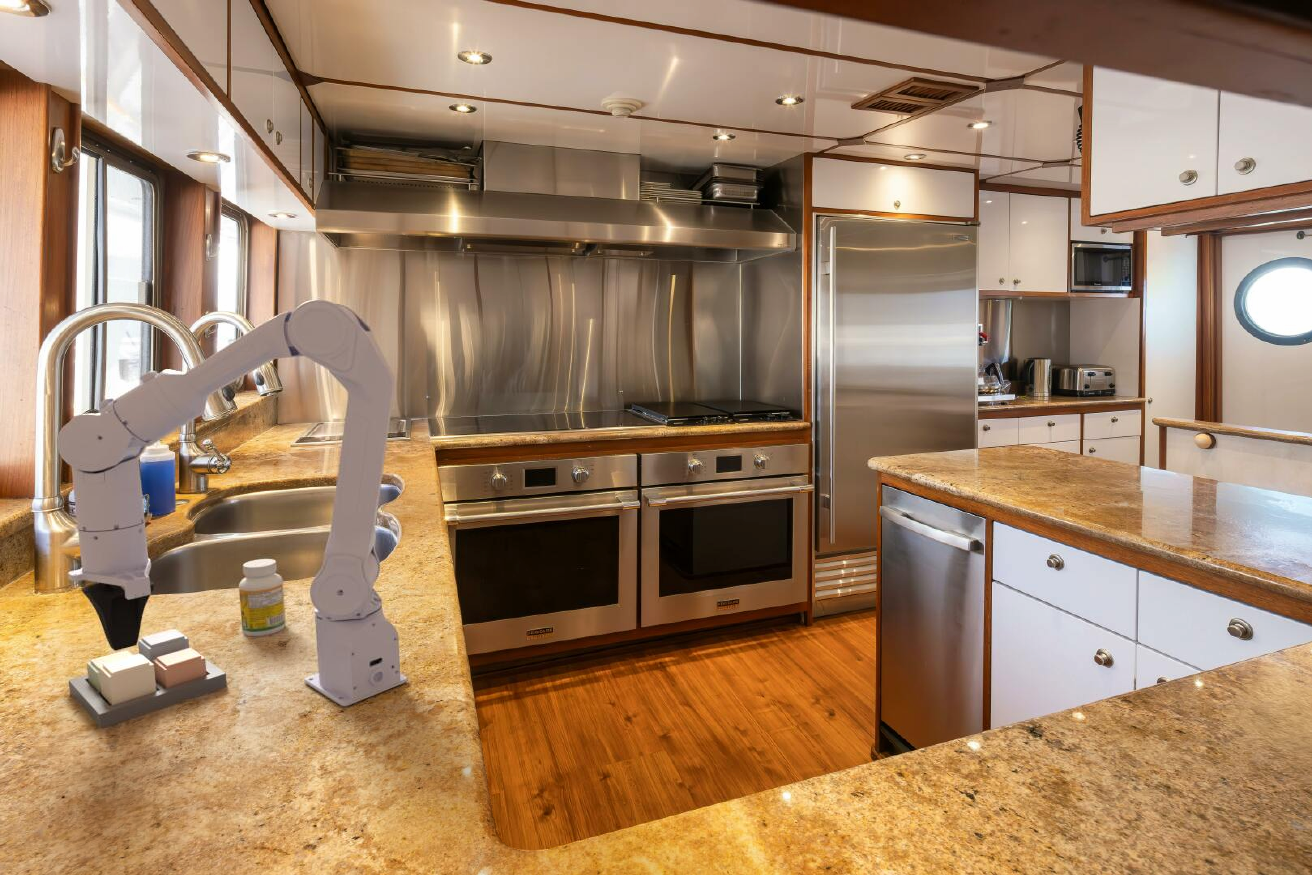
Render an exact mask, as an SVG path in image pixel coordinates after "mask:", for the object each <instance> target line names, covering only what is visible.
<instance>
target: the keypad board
mask: <svg viewBox="0 0 1312 875" xmlns="http://www.w3.org/2000/svg"><path fill="white" fill-rule="evenodd" d="M189 648H191V649H193V648H192V647H190V646H189ZM205 662H206V674H207V675H206V676H203V677H200V678H196V679H193V680H190V681H187V682H184V683H181V684H178V685H175V686H172V687H168V688H165V689H164V688H163V687H162V686H161V685H160V684H159V683H157V682H156V681H155V682H156V692H153V693H150V694H147V695H143V696H140V697H137V698H134V699H131V700H128V701H125V702H122V703H119V704H115V705H110V703H109V702H108V701H107V700H106V698H105V697H104V696H103V695H102V694H101V690H100V691H97V692H96V691H95V690H94V689H93V688H92V687H91V686H90V685H89V679H88V673H87V674H84V675H81V676H78V677H74V678H73V677H72V678H70V679H68V686H69V687H68V688H69V694H70V695H71V696H72V697H73V699H74V700H75V701H76V702H77V704H78V705H79V706H80V707H81V708H82V709H83V710H84V711H85V713H86V714H87V715H88V716H89V718H91V720H92V721H93V722H94V723H95V724H96V725H97V726H98V727H99V729H101V730H102V729H105V728H108V727H111V726H114V725H117V724H119V723H122V722H126V721H129V720H131V719H134V718H137V717H140V716H144V715H146V714H150V713H153V712H156V711H158V710H161V709H164V708H168V707H170V706H174V705H176V704H179V703H182V702H185V701H187V700H191V699H194V698H196V697H200V696H203V695H206V694H209V693H212V692H215V691H217V690H221V689H223V688H226V687H227V688H228V683H227V673H226V672H225V671H223V670H222V669H221V668H219V667H218V666H217V665H215V664H214V663H212V662H211V661H210V660H208V659H207V658H205Z"/></svg>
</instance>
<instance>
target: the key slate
mask: <svg viewBox="0 0 1312 875" xmlns="http://www.w3.org/2000/svg"><path fill="white" fill-rule="evenodd" d="M189 641H190V640H189V637H187V635H184V634H183V633H182V632H180V630H178V629H175V628H173V629H168V630H163V631H160V632H158V633H154V634H149V635H146V636H142V637H141V639H138V642H137V645H138V654H140V655H143V656H144V657H145V658H147V659H148V660H149V661H150V662H151V663H153V660H155V659H157V657H160V656H163V655H167V654H170V653H174V652H177V651H180V650H184V649H187V648H189V647H190V642H189Z"/></svg>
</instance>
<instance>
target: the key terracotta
mask: <svg viewBox="0 0 1312 875" xmlns="http://www.w3.org/2000/svg"><path fill="white" fill-rule="evenodd" d="M191 648H192V647H190V648H187V649H184V650H180V651H177V652H174V653H170V654H167V655H163V656H160V657H157V659H155V660H153V664H154V671H155V681H156V682H157V683H159V684H160V685H161V686H162V687H163V688H164V689H165V688H168V687H172V686H175V685H178V684H181V683H184V682H187V681H190V680H193V679H196V678H200V677H203V676H206V675H207V674H206V662H205V659H206V657H205V656H203V655H202V654H200V652H197V651H196V650H195V649H193V648H192V649H191Z"/></svg>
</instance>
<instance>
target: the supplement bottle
mask: <svg viewBox="0 0 1312 875" xmlns="http://www.w3.org/2000/svg"><path fill="white" fill-rule="evenodd" d="M277 569H278V566H277V561H276V560H275V559H271V558H259V559H254V560H249V561H247V562H245V563H243V565H242V574H243V575H244V578H242V579H241V580H240V582H239V584H238V589H239V590H238V592H239V604H240V617H241V629H242V633H243V634H244V635H246V636H248V637H265V636H270V635H274V634H277V633H279V632H280V631H282V630H283V629H284V628H285V627H286V623H287V620H286V606H285V595H284V594H285V593H284V580H283V577H282V576H281V575H280V574H278V573H276V572H277Z"/></svg>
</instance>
